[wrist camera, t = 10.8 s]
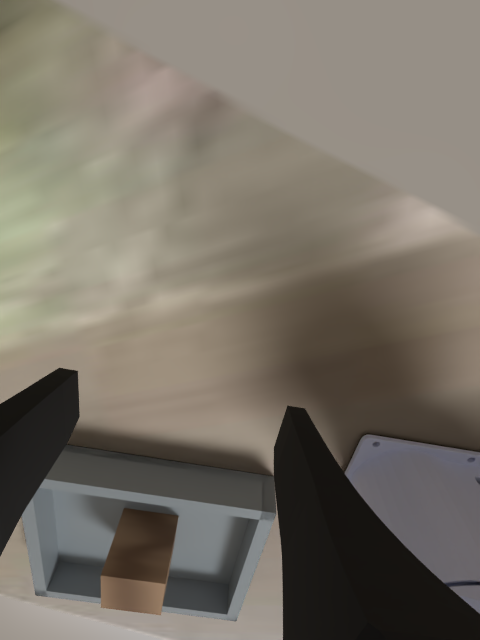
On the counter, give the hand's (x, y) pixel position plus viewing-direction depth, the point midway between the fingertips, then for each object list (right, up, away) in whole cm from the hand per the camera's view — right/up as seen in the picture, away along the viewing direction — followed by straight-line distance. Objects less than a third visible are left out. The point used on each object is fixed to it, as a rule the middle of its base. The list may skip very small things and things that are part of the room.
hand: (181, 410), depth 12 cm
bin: (-6, -14, +18) cm, 24 cm away
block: (-6, -15, +18) cm, 24 cm away
